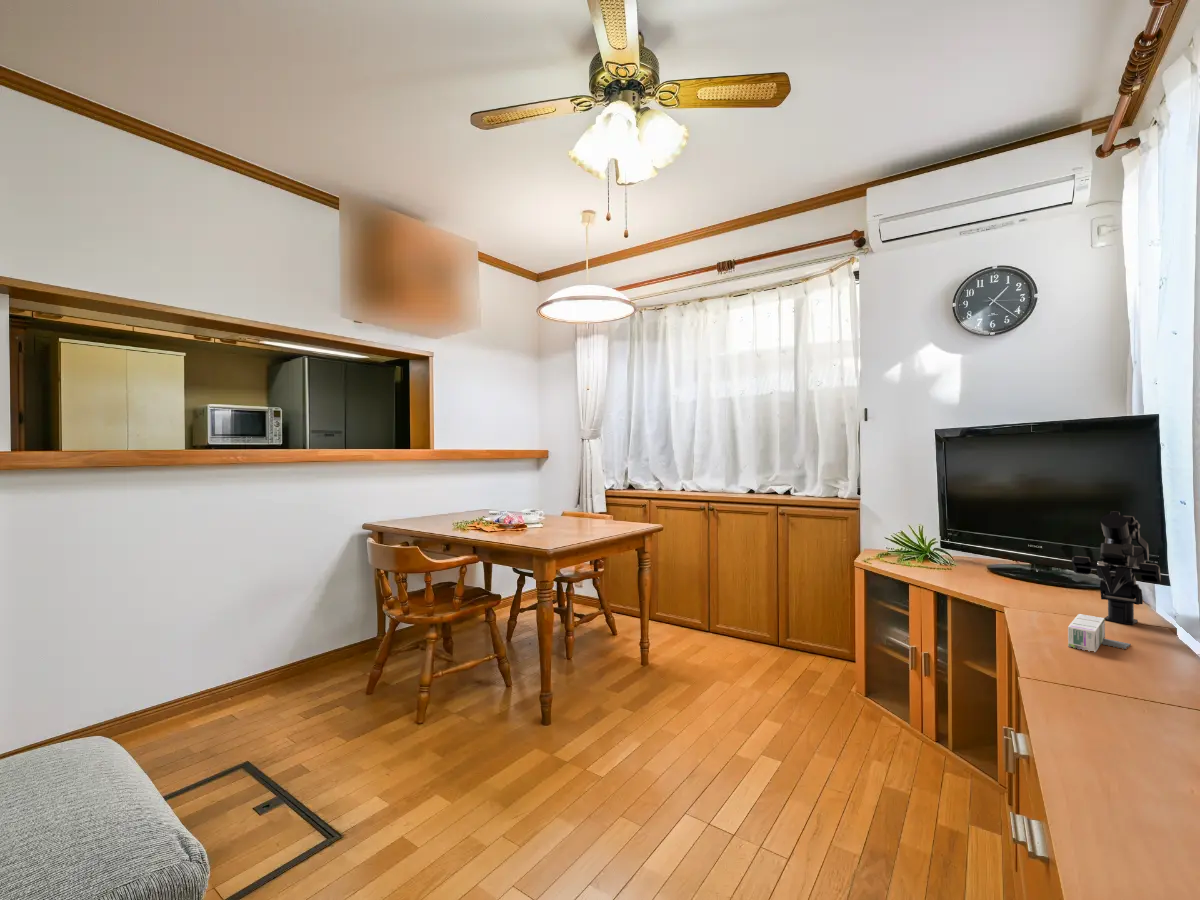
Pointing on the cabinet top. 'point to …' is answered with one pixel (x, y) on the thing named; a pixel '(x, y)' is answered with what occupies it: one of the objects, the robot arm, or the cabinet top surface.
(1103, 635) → the syrup box
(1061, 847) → the cabinet top surface
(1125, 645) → the slate mat
